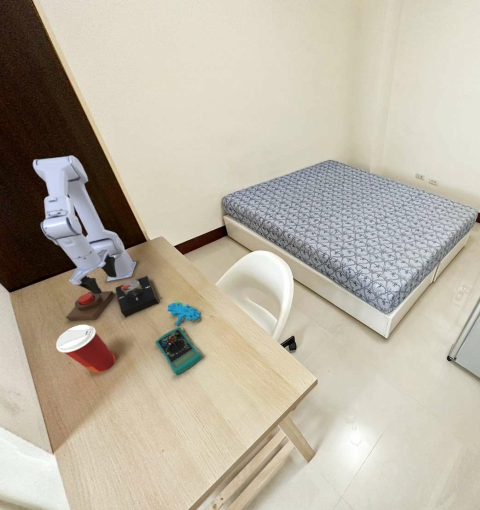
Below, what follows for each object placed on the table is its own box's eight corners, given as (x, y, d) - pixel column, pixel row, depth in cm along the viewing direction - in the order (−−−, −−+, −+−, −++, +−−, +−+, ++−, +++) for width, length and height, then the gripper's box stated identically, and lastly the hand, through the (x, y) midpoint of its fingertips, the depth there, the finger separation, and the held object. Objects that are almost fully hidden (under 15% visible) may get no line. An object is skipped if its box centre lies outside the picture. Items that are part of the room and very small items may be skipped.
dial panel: (119, 293, 95) (115, 287, 93) (150, 281, 100) (146, 275, 99) (125, 317, 87) (120, 311, 85) (159, 303, 92) (155, 297, 90)
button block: (91, 296, 94) (85, 288, 91) (115, 295, 95) (109, 287, 92) (69, 321, 85) (62, 313, 83) (96, 320, 86) (89, 312, 84)
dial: (141, 284, 95) (136, 277, 92) (145, 292, 92) (140, 285, 89) (124, 291, 92) (119, 284, 90) (127, 300, 89) (122, 292, 87)
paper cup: (122, 348, 79) (96, 319, 70) (116, 371, 73) (87, 343, 64) (91, 356, 76) (60, 328, 67) (82, 381, 71) (46, 353, 62)
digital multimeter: (181, 329, 84) (178, 324, 82) (203, 359, 77) (200, 353, 75) (157, 345, 80) (152, 339, 78) (177, 377, 72) (173, 372, 70)
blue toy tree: (205, 318, 86) (172, 314, 78) (196, 334, 86) (163, 331, 78) (195, 302, 93) (165, 296, 85) (187, 316, 93) (156, 312, 85)
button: (85, 296, 89) (82, 293, 88) (96, 296, 89) (94, 292, 88) (78, 305, 86) (75, 301, 85) (90, 304, 87) (86, 301, 85)
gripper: (77, 268, 73) (103, 301, 81) (111, 238, 84) (131, 269, 92) (50, 268, 72) (80, 301, 81) (88, 238, 84) (110, 269, 92)
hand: (106, 284), depth 87 cm, fingers open, 7 cm apart
